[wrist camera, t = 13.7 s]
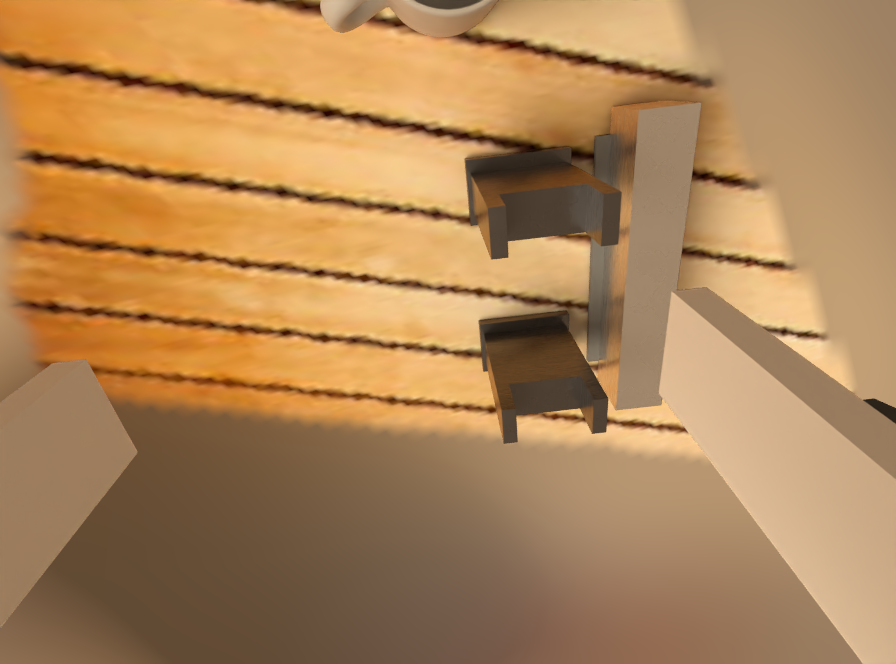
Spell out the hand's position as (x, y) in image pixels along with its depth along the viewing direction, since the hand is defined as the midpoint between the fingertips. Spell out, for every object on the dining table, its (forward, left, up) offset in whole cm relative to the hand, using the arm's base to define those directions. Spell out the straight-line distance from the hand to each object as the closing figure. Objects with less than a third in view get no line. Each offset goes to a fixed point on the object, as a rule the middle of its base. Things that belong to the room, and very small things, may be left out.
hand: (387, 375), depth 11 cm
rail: (+9, +17, -28) cm, 34 cm away
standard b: (+16, +8, -29) cm, 34 cm away
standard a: (+2, +8, -29) cm, 30 cm away
